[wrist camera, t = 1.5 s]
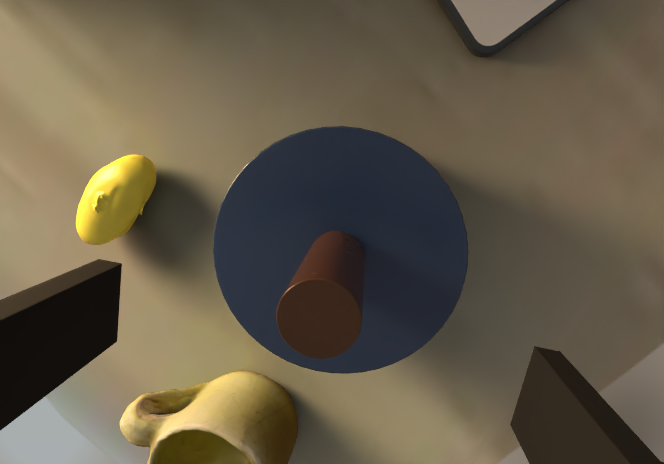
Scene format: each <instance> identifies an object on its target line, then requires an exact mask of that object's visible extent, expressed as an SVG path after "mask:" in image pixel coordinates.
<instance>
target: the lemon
mask: <svg viewBox="0 0 664 464" xmlns="http://www.w3.org/2000/svg"><path fill="white" fill-rule="evenodd" d="M155 184H156V170H155V166H154V164H153V163H152V162H151V161H150V160H149V159H148V158H146V157H144V156H141V155H128V156H124V157H122V158H120V159H118V160H116V161H114V162H112V163H110V164H109V165H107V166H105V167H103V168H102V169H100V170H99V171H98V172H97V173H96V174H95V175H94V176H93V177H92V178H91V180H90V182H89V183H88V185H87V187H86V189H85V192H84V194H83V196H82V199H81V201H80V203H79V206H78V211H77V218H76V228H77V231H78V234H79V236H80V237H81V239H82V240H83V241H84V242H86V243H88V244H92V245H101V244H105V243H107V242H110V241H112V240H114V239H115V238H117V237H119V236H122V235H123V234H125V233H126V232H127V231H128V230H129V229H130V228H131V226H132V225H133V223H134V222H135V220H136V218H137V216H138V214H141V215H142V211H143V208H144V205H145V203H146V202H147V200H148V199H149V197H150V195H151V193H152V191H153V189H154V187H155Z"/></svg>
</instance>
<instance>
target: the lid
mask: <svg viewBox="0 0 664 464" xmlns="http://www.w3.org/2000/svg"><path fill="white" fill-rule="evenodd" d="M213 253H214V264H215V270H216V274H217V279H218V282H219V285H220V288H221V291H222V293H223V296H224V298H225V300H226V302H227V304H228V306H229V308H230V310H231V311H232V313H233V314H234V316H235V317H236V319H237V320H238V322H239V323H240V324H241V325H242V326H243V328H244V329H245V330H246V331H247V332H248V333H249V334H250V335H251V336H252V337H253V338H254V339H255V340H256V341H257V342H259V343H260V344H261V345H262V346H264V347H265V348H266V349H268V350H269V351H271V352H272V353H273V354H275V355H277V356H279V357H281V358H283V359H284V360H286V361H288V362H291V363H293V364H296V365H298V366H301V367H304V368H308V369H312V370H315V371H321V372H328V373H358V372H366V371H370V370H375V369H379V368H382V367H385V366H388V365H391V364H394V363H396V362H398V361H400V360H402V359H404V358H406V357H408V356H409V355H411V354H412V353H414V352H415V351H417V350H418V349H420V348H421V347H422V346H423V345H425V344H426V343H427V342H428V341H429V340H430V339H431V338H433V336H434V335H435V334H436V333H437V332H438V331H439V330H440V329H441V327H442V326H443V325H444V324H445V322H446V321H447V319H448V318H449V316H450V315H451V313H452V312H453V310H454V308H455V306H456V304H457V302H458V299H459V297H460V294H461V291H462V288H463V285H464V282H465V277H466V272H467V266H468V242H467V232H466V228H465V224H464V220H463V216H462V213H461V211H460V208H459V206H458V203H457V200H456V199H455V197H454V195H453V193H452V192H451V190H450V188H449V186H448V185H447V183H446V182H445V181H444V179H443V178H442V177H441V175H440V174H439V173H438V171H437V170H436V169H435V168H434V167H433V166H432V165H431V164H430V163H429V162H428V161H427V160H426V159H425V158H423V157H422V156H421V155H419V154H418V153H417V152H415V151H414V150H413V149H411V148H410V147H408V146H406V145H404V144H403V143H401V142H399V141H397V140H396V139H393V138H391V137H388V136H386V135H383V134H381V133H378V132H374V131H370V130H366V129H362V128H354V127H345V126H337V127H321V128H315V129H309V130H305V131H302V132H299V133H296V134H293V135H290V136H288V137H286V138H284V139H281V140H279V141H277V142H275V143H274V144H272V145H271V146H269V147H267V148H266V149H264V150H263V151H261V152H260V153H259V154H258V155H257V156H255V157H254V158H253V159H252V160H251V161H250V162H249V163H248V164H247V165H246V166H245V167H244V168H243V169H242V171H241V172H240V173H239V174H238V175H237V177H236V178H235V180H234V181H233V183H232V184H231V186H230V187H229V189H228V191H227V193H226V195H225V197H224V199H223V201H222V204H221V207H220V210H219V213H218V216H217V220H216V225H215V231H214V244H213Z"/></svg>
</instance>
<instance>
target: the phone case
mask: <svg viewBox="0 0 664 464" xmlns="http://www.w3.org/2000/svg"><path fill="white" fill-rule="evenodd" d="M567 1H569V0H438V2H439V3H440V5H441V7H442V8H443V10H444V11H445V13H446V15H447V16H448V18H449V19H450V21H451V23H452V24H453V26H454V27H455V29H456V31H457V32H458V34H459V35H460V37H461V38H462V40H463V42H464V43H465V45H466V46H467V48H468V49H469V51H470V52H471V53H472V54H474V55H476V56H479V57H489V56H491V55H494V54H495V53H497V52H499V51H500V50H501V49H503V48H504V47H506V46H507V45H508V44H510V43H511V42H512V41H514V40H515V39H517V38H518V37H519V36H521V35H522V34H523V33H525V32H526V31H528V30H529V29H530V28H532V27H533V26H534V25H536V24H537V23H539V22H540V21H541V20H543V19H544V18H545V17H547V16H548V15H550V14H551V13H552V12H554V11H555V10H556V9H558V8H559V7H561V6H562V5H563V4H565V3H566V2H567Z"/></svg>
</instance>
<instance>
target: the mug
mask: <svg viewBox="0 0 664 464" xmlns="http://www.w3.org/2000/svg"><path fill="white" fill-rule="evenodd" d="M171 413H176V414H174V415H171V416H168V417H157V416H153V415H150V414H157V415H164V414H171ZM120 429H121V431H122V433H123V434H124V436H125V437H126V438H127V439H128V440H129V441H130V442H131V443H133V444H134V445H137V446H142V447H147V446H148V447H150V448H151V451H150V457H149V460H148V463H147V464H288V461H289V458H290V456H291V453H292V451H293V448H294V445H295V442H296V439H297V434H298V418H297V414H296V410H295V407H294V405H293V402H292V400H291V398H290V396H289V395H288V393H287V392H286V391H285V389H284V388H283V387H281V386H280V385H278V384H277V383H275V382H274V381H272V380H270V379H269V378H267V377H266V376H263V375H260V374H257V373H253V372H248V371H238V372H232V373H228V374H226V375H223V376H221V377H219V378H217V379H215V380H213V381H211V382H208V383H202V384H199V385H197V386H194V387H190V388H186V389H183V390H177V389H174V390H165V391H161V392H158V393H153V392H152V393H148V394H143V395H141V396H139V397H138V398H137V399H136V400H135V401H134V402H133V403H131V404H130V405H129V406H128V407H127V409H126V410H125V412H124V414H123V416H122V418H121V420H120Z"/></svg>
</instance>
